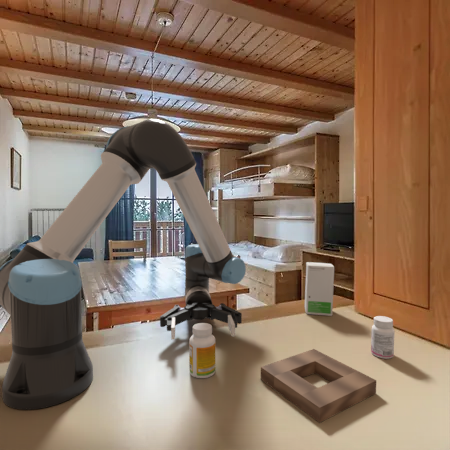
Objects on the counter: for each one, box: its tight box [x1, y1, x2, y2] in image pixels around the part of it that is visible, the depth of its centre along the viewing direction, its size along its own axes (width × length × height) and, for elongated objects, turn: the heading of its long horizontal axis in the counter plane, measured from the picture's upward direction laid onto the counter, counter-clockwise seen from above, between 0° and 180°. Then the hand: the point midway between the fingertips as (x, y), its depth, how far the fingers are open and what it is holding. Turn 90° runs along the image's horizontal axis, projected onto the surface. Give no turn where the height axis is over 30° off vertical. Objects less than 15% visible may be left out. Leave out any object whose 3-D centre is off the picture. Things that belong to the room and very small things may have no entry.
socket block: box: [260, 348, 377, 423], centre depth 62 cm, size 15×15×2 cm
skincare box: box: [304, 261, 335, 317], centre depth 103 cm, size 8×7×16 cm
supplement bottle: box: [188, 322, 217, 379], centre depth 67 cm, size 5×5×10 cm
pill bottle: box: [370, 315, 395, 360], centre depth 75 cm, size 5×5×8 cm
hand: (203, 332), depth 73 cm, fingers open, 13 cm apart
